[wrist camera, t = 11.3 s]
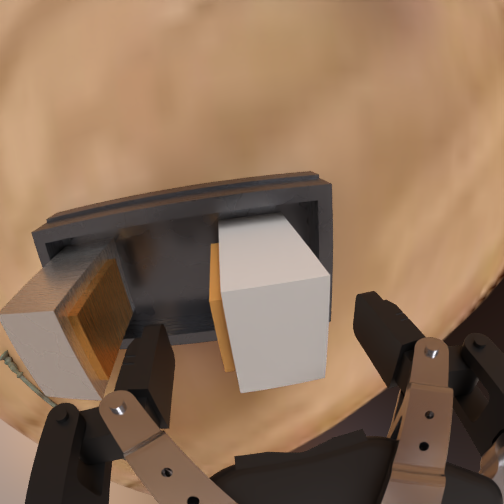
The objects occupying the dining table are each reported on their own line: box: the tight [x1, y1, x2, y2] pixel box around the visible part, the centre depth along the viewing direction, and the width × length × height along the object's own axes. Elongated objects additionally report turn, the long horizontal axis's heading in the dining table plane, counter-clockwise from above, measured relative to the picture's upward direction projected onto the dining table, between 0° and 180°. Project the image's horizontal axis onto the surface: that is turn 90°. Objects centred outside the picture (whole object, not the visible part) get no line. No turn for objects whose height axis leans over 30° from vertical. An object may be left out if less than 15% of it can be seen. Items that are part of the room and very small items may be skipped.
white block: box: [209, 212, 330, 393], centre depth 14 cm, size 4×5×8 cm
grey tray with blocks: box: [0, 171, 333, 400], centre depth 14 cm, size 17×9×10 cm, turn 96°
